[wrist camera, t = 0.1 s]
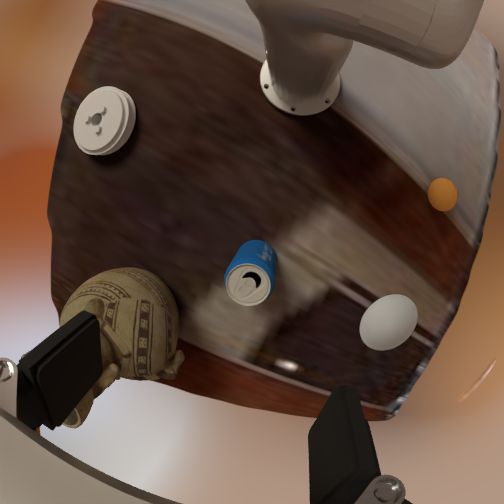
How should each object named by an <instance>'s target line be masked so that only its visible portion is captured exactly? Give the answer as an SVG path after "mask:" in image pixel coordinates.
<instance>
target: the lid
mask: <svg viewBox="0 0 504 504" xmlns="http://www.w3.org/2000/svg"><path fill="white" fill-rule="evenodd" d="M135 119H136V109H135V105H134V102H133V100H132V98H131V97H130V96H129V95H128V94H127V93H126V92H124V91H122V90H119V89H117V88H115V87H111V86H106V87H101V88H99V89H96V90H95V91H93V92H92V93H90V94H89V95H88V96H87V97H86V98H85V99H84V101H83V102H82V103H81V105H80V107H79V109H78V111H77V113H76V117H75V121H74V137H75V140H76V143H77V145H78V146H79V148H80V149H81V150H82V151H84V152H85V153H87V154H91V155H108V154H111V153H113V152H115V151H117V150H118V149H120V148H121V147H122V146H123V145H124V144H125V142H126V141H127V140H128V138H129V137H130V135H131V133H132V130H133V128H134V124H135Z"/></svg>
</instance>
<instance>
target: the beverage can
mask: <svg viewBox="0 0 504 504" xmlns="http://www.w3.org/2000/svg"><path fill="white" fill-rule="evenodd" d="M276 260H277V259H276V254H275V251H274V250H273V248H272V247H271V246H270V245H269V244H268V243H266V242H264V241H261V240H251V241H248V242H246V243H244V244H243V245H242V246H241V247H240V248H239V250H238V252H237V253H236V255H235V257H234V258H233V260H232V262H231V263H230V265H229V267H228V269H227V270H226V273H225V277H224V283H225V287H226V290H227V292H228V294H229V296H230V297H231V298H232V299H233V300H234V301H235V302H237V303H239V304H241V305H245V306H254V305H257V304H260V303H261V302H263V301H265V300H266V299H267V298H268V297H269V296H270V295H271V293H272V291H273V289H274V283H275V272H276Z"/></svg>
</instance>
